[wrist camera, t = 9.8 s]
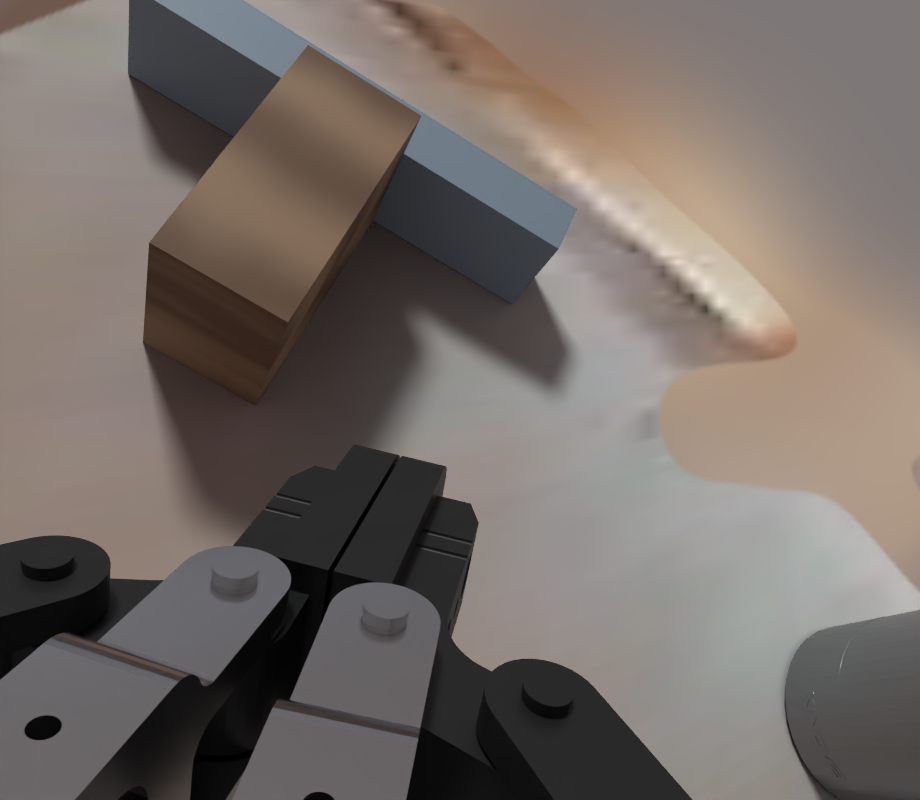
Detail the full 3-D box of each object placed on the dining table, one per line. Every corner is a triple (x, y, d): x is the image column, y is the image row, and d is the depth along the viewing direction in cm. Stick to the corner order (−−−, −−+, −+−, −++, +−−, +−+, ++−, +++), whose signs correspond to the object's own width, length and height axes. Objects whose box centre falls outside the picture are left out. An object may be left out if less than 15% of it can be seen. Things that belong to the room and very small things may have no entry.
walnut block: (255, 406, 41) (287, 322, 34) (143, 343, 41) (149, 242, 33) (372, 222, 48) (421, 115, 40) (276, 164, 47) (307, 44, 39)
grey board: (511, 304, 49) (558, 248, 44) (128, 73, 46) (129, -16, 41) (529, 266, 50) (576, 208, 45) (159, 41, 47) (164, -49, 42)
